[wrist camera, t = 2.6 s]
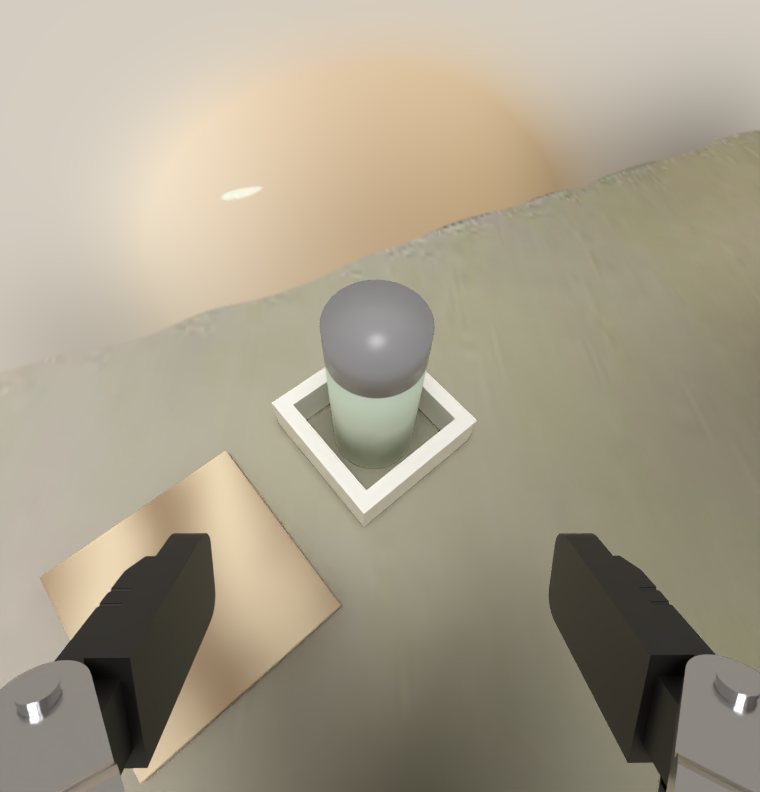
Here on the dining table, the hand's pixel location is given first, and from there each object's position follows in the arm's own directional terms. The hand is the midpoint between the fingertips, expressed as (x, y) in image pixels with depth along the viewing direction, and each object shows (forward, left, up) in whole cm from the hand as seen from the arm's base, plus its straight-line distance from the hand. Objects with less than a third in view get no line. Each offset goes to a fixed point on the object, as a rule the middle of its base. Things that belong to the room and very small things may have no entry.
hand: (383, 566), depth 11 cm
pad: (+6, -6, -13) cm, 16 cm away
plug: (-6, -7, -13) cm, 16 cm away
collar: (-6, -7, -13) cm, 16 cm away
